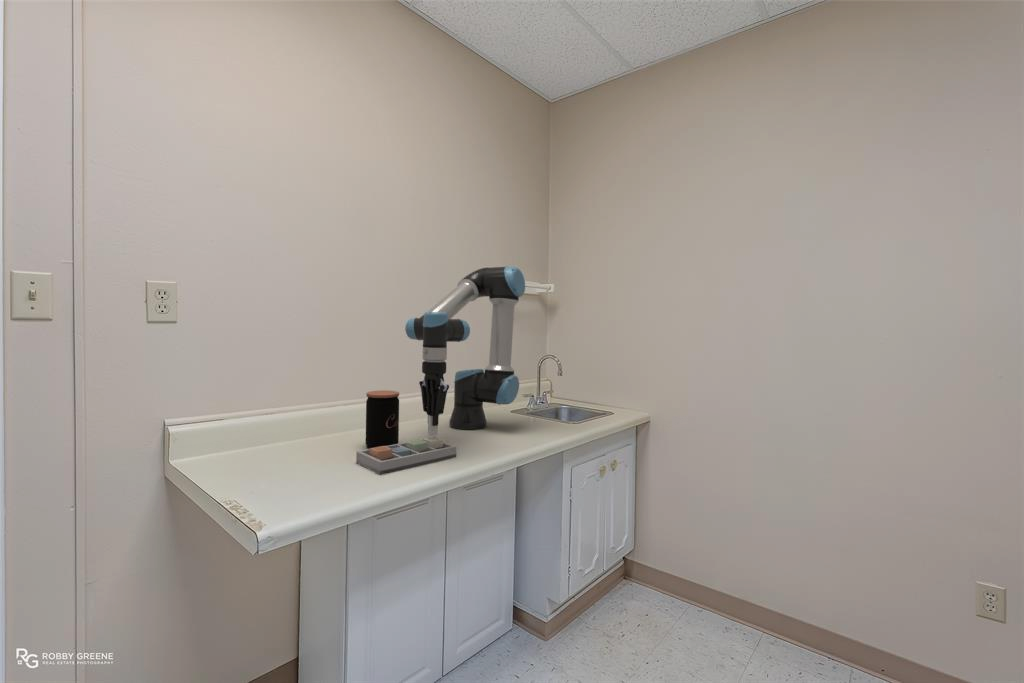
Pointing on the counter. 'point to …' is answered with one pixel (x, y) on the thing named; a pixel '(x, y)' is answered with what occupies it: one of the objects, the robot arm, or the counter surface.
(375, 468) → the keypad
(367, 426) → the coffee jar
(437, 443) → the key ivory
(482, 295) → the robot arm
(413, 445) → the key sage
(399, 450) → the key slate
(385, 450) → the key terracotta
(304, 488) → the counter surface
